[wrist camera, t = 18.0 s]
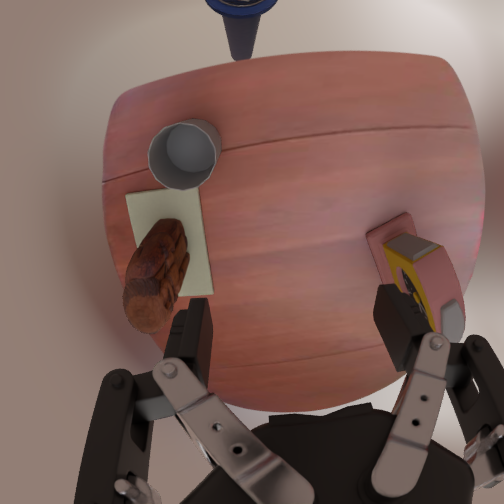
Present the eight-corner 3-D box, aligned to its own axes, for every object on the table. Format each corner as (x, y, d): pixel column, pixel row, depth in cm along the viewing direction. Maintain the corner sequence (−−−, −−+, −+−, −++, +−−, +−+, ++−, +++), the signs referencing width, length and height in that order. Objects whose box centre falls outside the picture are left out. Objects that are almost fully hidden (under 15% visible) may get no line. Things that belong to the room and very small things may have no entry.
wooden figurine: (193, 277, 52) (176, 352, 36) (158, 277, 52) (130, 350, 36) (185, 213, 47) (158, 275, 31) (147, 215, 46) (105, 275, 31)
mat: (126, 193, 45) (124, 195, 45) (198, 184, 45) (197, 186, 45) (152, 294, 55) (151, 297, 54) (214, 291, 55) (213, 294, 54)
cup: (233, 140, 42) (230, 150, 34) (200, 182, 45) (189, 203, 36) (187, 108, 40) (172, 109, 31) (156, 151, 43) (135, 165, 34)
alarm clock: (359, 221, 49) (419, 295, 30) (403, 197, 47) (478, 258, 28) (390, 306, 58) (433, 382, 40) (425, 285, 57) (477, 355, 38)
